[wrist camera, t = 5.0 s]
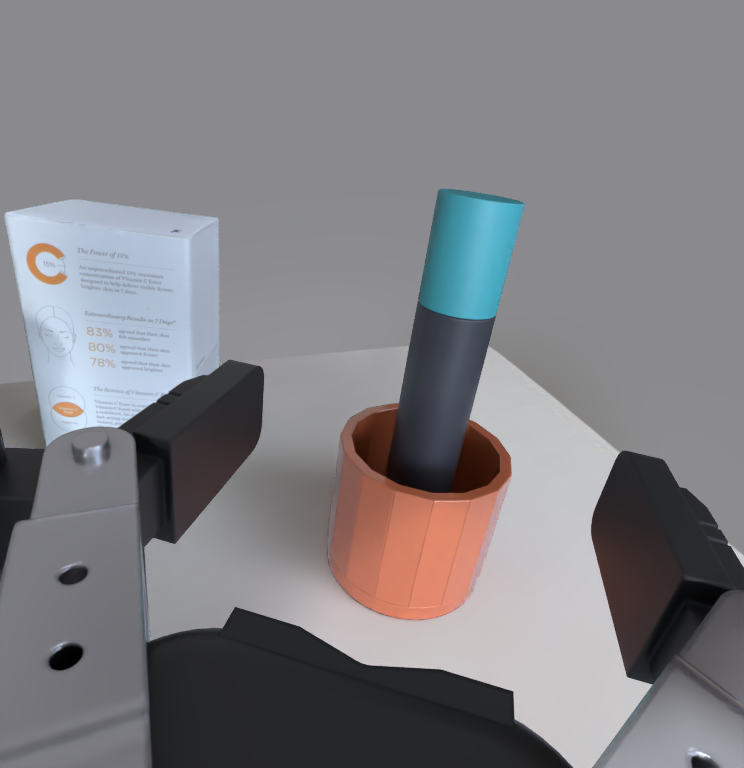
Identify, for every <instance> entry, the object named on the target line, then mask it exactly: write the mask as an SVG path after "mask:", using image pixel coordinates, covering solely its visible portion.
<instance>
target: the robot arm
mask: <svg viewBox="0 0 744 768" xmlns="http://www.w3.org/2000/svg"><path fill="white" fill-rule="evenodd" d="M263 390H264V372H263V369H262V367H260V366H256V365H251V364H247V363H243V362H238V361H233V360H228V361H227V362H225V363H224V364H223V365H221V366H220V367H219V368H217V369H216V370H215V371H213V372H212V373H211V374H209V375H201V376H198V377H195V378H192V379H189V380H186V381H183V382H182V383H180V384H179V385H177V386H176V387H175V388H173V389H172V390H170V391H169V393H168V394H165V395H163V396H162V397H160V398H159V399H158V400H157V401H156V403H154V402H153V403H152V404H150V405H149V406H148V407H146V408H145V409H143V410H142V411H141V412H139V413H138V414H136V415H135V416H133V417H132V418H131V419H129V420H128V421H126V422H125V423H124V424H122V425H121V426H119V427H118V428H114V427H101V426H100V427H88V428H82V429H78V430H74V431H71V432H68V433H66V434H63V435H61V436H59V437H57V438H56V439H55V440H53V441H52V442H51V443H50V444H49V445H48V446H47V447H46V449H28V448H5V447H4V442H3V438H2V433H1V429H0V768H573V767H572V766H571V765H570V764H569V763H568V762H567V761H566V760H565V759H564V758H563V757H562V756H561V755H560V753H559V752H557V751H556V750H555V749H554V748H553V747H552V746H551V745H549V744H548V743H547V742H546V741H545V740H544V739H543V738H541V737H540V736H539V735H537V734H536V733H535V732H533V731H532V730H531V729H529V728H528V727H526V726H525V725H523V724H522V723H520V722H518V721H517V720H515V719H514V698H513V691H510V690H506V689H503V688H500V687H497V686H493V685H490V684H487V683H483V682H480V681H477V680H473V679H470V678H467V677H464V676H460V675H457V674H454V673H450V672H447V671H444V670H440V669H422V668H404V667H386V666H370V665H365V664H362V663H360V662H358V661H356V660H354V659H353V658H351V657H349V656H348V655H346V654H344V653H343V652H341V651H339V650H338V649H336V648H334V647H333V646H331V645H329V644H328V643H326V642H324V641H323V640H321V639H319V638H318V637H316V636H314V635H313V634H311V633H309V632H308V631H306V630H304V629H303V628H301V627H299V626H296V625H293V624H289V623H286V622H283V621H280V620H276V619H273V618H270V617H266V616H263V615H260V614H257V613H253V612H250V611H247V610H243V609H240V608H237V607H235V608H234V610H233V612H232V613H231V615H230V617H229V618H228V620H227V622H226V624H225V625H224V627H223V628H207V629H195V630H189V631H183V632H178V633H175V634H171V635H167V636H164V637H160V638H158V639H155V640H153V641H150V629H149V614H148V598H147V582H146V566H145V552H144V547H145V546H146V545H147V544H148V543H149V541H150V540H151V539H152V538H156V539H160V540H163V541H167V542H170V543H173V544H175V543H176V542H177V541H178V540H179V539H180V537H181V536H182V535H183V534H184V533H185V531H186V530H187V529H188V528H189V527H190V525H191V524H192V523H193V522H194V521H195V520H196V518H197V517H198V516H199V515H200V514H201V512H202V511H203V510H204V509H205V508H206V506H207V505H208V504H209V503H210V502H211V500H212V499H213V498H214V497H215V496H216V494H217V493H218V492H219V491H220V490H221V488H222V487H223V486H224V485H225V484H226V482H227V481H228V480H229V479H230V478H231V476H232V475H233V474H234V473H235V472H236V470H237V469H238V468H239V467H240V466H241V465H242V463H243V462H244V461H245V460H246V459H247V457H248V456H249V455H250V454H251V453H252V451H253V450H254V448H255V447H256V445H257V442H258V440H259V437H260V433H261V428H262V411H263ZM591 536H592V541H593V545H594V549H595V553H596V557H597V560H598V564H599V568H600V572H601V576H602V580H603V584H604V588H605V592H606V596H607V600H608V604H609V608H610V612H611V616H612V620H613V623H614V627H615V631H616V635H617V639H618V643H619V647H620V651H621V655H622V659H623V663H624V667H625V671H626V675H627V677H629V678H632V679H635V680H639V681H642V682H646V683H649V684H653V685H652V687H651V688H650V689H649V691H648V692H647V694H646V695H645V696H644V698H643V699H642V700H641V702H640V703H639V705H638V706H637V707H636V709H635V710H634V711H633V713H632V714H631V716H630V717H629V718H628V720H627V721H626V722H625V724H624V725H623V726H622V728H621V729H620V731H619V732H618V733H617V735H616V736H615V737H614V739H613V740H612V742H611V743H610V744H609V746H608V747H607V748H606V750H605V751H604V753H603V754H602V755H601V757H600V758H599V759H598V761H597V762H596V764H595V765H594V766H593V768H744V568H743V566H742V564H741V563H740V561H739V559H738V558H737V556H736V554H735V553H734V551H733V549H732V548H731V546H728V545H727V544H728V541H727V540H726V538H725V536H724V535H723V533H722V531H721V530H719V529H718V525H717V523H716V522H715V520H714V518H713V517H712V515H711V513H710V512H709V510H708V509H707V507H706V506H705V505H704V504H702V503H701V502H700V501H699V500H698V499H697V498H696V497H695V496H694V495H693V494H692V493H690V492H689V491H688V490H687V489H685V488H680V487H679V486H678V484H677V482H676V480H675V478H674V477H673V475H672V473H671V471H670V470H669V468H668V466H667V464H666V463H665V461H664V460H663V459H659V458H655V457H650V456H646V455H642V454H637V453H633V452H629V451H622V452H621V453H620V454H619V455H618V457H617V458H616V460H615V462H614V465H613V467H612V470H611V472H610V474H609V477H608V479H607V481H606V484H605V486H604V488H603V491H602V493H601V496H600V498H599V500H598V503H597V505H596V507H595V510H594V513H593V518H592V524H591Z"/></svg>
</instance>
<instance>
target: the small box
mask: <svg viewBox="0 0 744 768" xmlns="http://www.w3.org/2000/svg"><path fill="white" fill-rule="evenodd" d="M4 217H5V222H6V227H7V232H8V237H9V243H10V249H11V253H12V259H13V264H14V270H15V276H16V281H17V288H18V294H19V299H20V305H21V311H22V316H23V321H24V327H25V332H26V338H27V343H28V349H29V355H30V361H31V368H32V374H33V378H34V384H35V391H36V396H37V401H38V407H39V412H40V418H41V423H42V429H43V434H44V439H45V445H46V447H47V446H48V445H49V444H50V443H51V442H52V441H53V440H55V439H56V438H57V437H59V436H61V435H63V434H66V433H68V432H71V431H74V430H78V429H82V428H88V427H100V426H101V427H114V428H118V427H119V426H121V425H122V424H124V423H125V422H126V421H128V420H129V419H131V418H132V417H133V416H135V415H136V414H138V413H139V412H141V411H142V410H143V409H145V408H146V407H148V406H149V405H150V404H152V403H153V402H154V403H156V401H157V400H158V399H159V398H160V397H162V396H163V395H165V394H168V393H169V391H170V390H172V389H173V388H175V387H176V386H177V385H179V384H180V383H182V382H183V381H186V380H189V379H192V378H195V377H198V376H201V375H209V374H211V373H212V372H213V371H215V370H216V369H217V368H219V367H220V341H219V340H220V339H219V225H218V218H215V217H207V216H199V215H192V214H184V213H176V212H168V211H161V210H153V209H145V208H138V207H130V206H122V205H115V204H108V203H99V202H91V201H84V200H77V199H71V200H66V201H61V202H56V203H50V204H46V205H40V206H36V207H30V208H26V209H21V210H17V211H11V212H7V213H5V214H4Z"/></svg>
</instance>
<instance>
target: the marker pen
mask: <svg viewBox="0 0 744 768" xmlns="http://www.w3.org/2000/svg"><path fill="white" fill-rule="evenodd" d="M524 206H525V204H524V203H523V202H520V201H517V200H513V199H508V198H504V197H499V196H494V195H488V194H482V193H476V192H470V191H461V190H454V189H440V190H439V191H438V195H437V200H436V206H435V211H434V217H433V222H432V227H431V233H430V238H429V244H428V250H427V254H426V260H425V265H424V271H423V276H422V281H421V287H420V292H419V297H418V303H417V309H416V314H415V319H414V325H413V330H412V336H411V341H410V346H409V352H408V357H407V362H406V368H405V373H404V379H403V384H402V389H401V395H400V400H399V406H398V411H397V416H396V422H395V427H394V433H393V438H392V443H391V449H390V454H389V460H388V465H387V470H386V476H385V477H386V478H388V479H390V480H392V481H394V482H396V483H398V484H400V485H403V486H407V487H411V488H415V489H419V490H423V491H427V492H431V493H450V491H451V487H452V483H453V480H454V476H455V472H456V468H457V464H458V460H459V456H460V453H461V449H462V445H463V441H464V437H465V433H466V429H467V426H468V422H469V418H470V414H471V410H472V406H473V402H474V399H475V395H476V391H477V387H478V383H479V379H480V375H481V371H482V368H483V364H484V360H485V356H486V352H487V348H488V344H489V341H490V337H491V333H492V329H493V325H494V321H495V317H496V316H495V315H496V313H497V309H498V306H499V302H500V298H501V294H502V290H503V287H504V283H505V279H506V275H507V271H508V267H509V263H510V259H511V255H512V252H513V248H514V244H515V240H516V236H517V233H518V229H519V225H520V221H521V217H522V213H523V209H524Z"/></svg>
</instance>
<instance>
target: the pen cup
mask: <svg viewBox="0 0 744 768" xmlns="http://www.w3.org/2000/svg"><path fill="white" fill-rule="evenodd" d="M398 406H399V404H387V405H382V406H376V407H371V408H367V409H365V410H363V411H362V412H360V413H358V414H356V415H354V416H353V417H351V418H350V419H349V420H348V422H347V424H346V425H345V427H344V429H343V431H342V432H341V435H340V442H339V450H338V457H337V465H336V473H335V480H334V488H333V496H332V503H331V511H330V519H329V526H328V545H327V557H328V562H329V566H330V568H331V571H332V573H333V575H334V577H335V578H336V580H337V582H338V583H339V584H340V585H341V587H342V588H343V589H344V590H345V591H346V592H347V593H348V594H349V595H350V596H351V597H353V598H354V599H355V600H356V601H358V602H359V603H361V604H362V605H364V606H366V607H367V608H370V609H372V610H374V611H376V612H378V613H381V614H384V615H387V616H391V617H395V618H400V619H408V620H423V619H431V618H435V617H439V616H443V615H445V614H447V613H450V612H452V611H453V610H455V609H457V608H458V607H459V606H461V605H462V604H463V603H464V602H465V601H466V600H467V599H468V597H469V596H470V595H471V593H472V591H473V589H474V586H475V583H476V580H477V578H478V577H479V575H480V573H481V569H482V566H483V563H484V560H485V557H486V554H487V551H488V548H489V544H490V541H491V538H492V535H493V532H494V529H495V526H496V523H497V520H498V516H499V513H500V510H501V507H502V504H503V501H504V498H505V495H506V491H507V488H508V485H509V482H510V479H511V476H512V473H511V457H510V455H509V454H508V452H507V451H506V449H505V448H504V447H503V445H502V444H501V442H500V441H499V440H498V439H497V437H495V436H494V435H492V434H491V433H490V432H488V431H487V430H486V429H484V428H483V427H481V426H480V425H479V424H477V423H476V422H474V421H471V420H469V422H468V426H467V429H466V433H465V437H464V441H463V445H462V449H461V453H460V456H459V460H458V464H457V468H456V472H455V476H454V480H453V483H452V487H451V491H450V493H431V492H427V491H423V490H419V489H415V488H411V487H407V486H403V485H400V484H398V483H396V482H394V481H392V480H390V479H388V478H386V477H385V476H386V470H387V465H388V460H389V454H390V449H391V443H392V438H393V433H394V427H395V422H396V416H397V411H398Z"/></svg>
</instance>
